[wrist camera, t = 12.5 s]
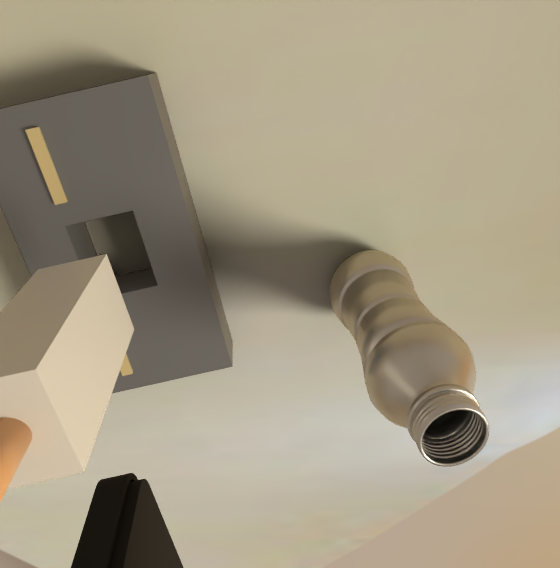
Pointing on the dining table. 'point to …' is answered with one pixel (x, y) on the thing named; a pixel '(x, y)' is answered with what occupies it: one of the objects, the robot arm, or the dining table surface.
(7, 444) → the plug
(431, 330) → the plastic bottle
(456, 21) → the dining table surface
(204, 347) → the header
